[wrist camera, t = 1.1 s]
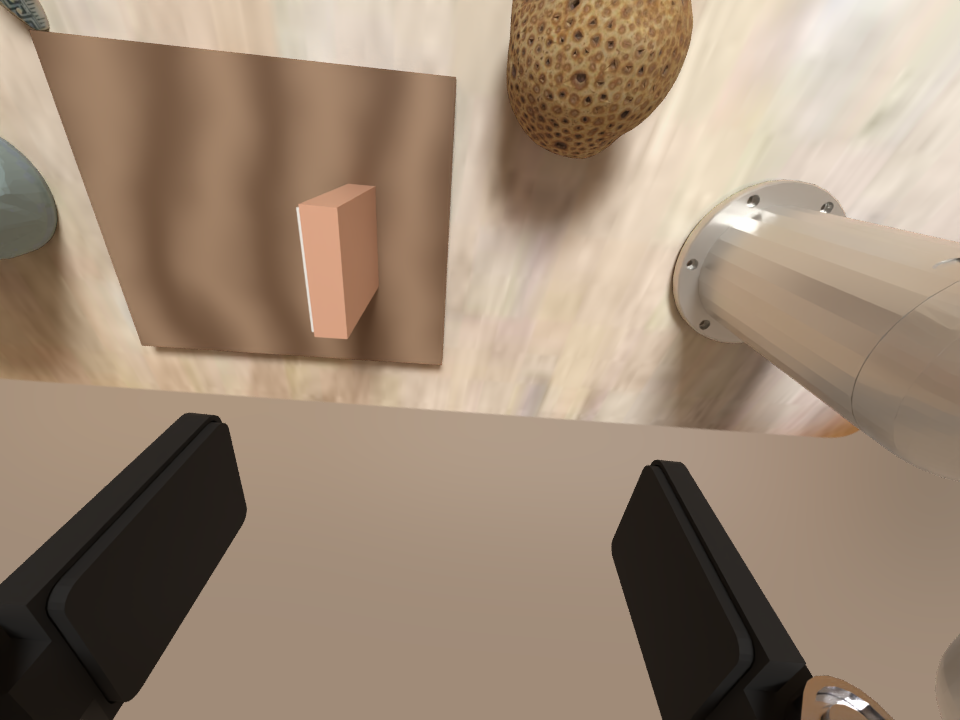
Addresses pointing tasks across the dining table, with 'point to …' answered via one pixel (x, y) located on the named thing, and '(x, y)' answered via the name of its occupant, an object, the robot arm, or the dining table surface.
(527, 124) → the natural sponge
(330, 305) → the tile
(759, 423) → the dining table surface
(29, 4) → the ceramic fragment
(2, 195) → the grey green cup
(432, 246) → the board
